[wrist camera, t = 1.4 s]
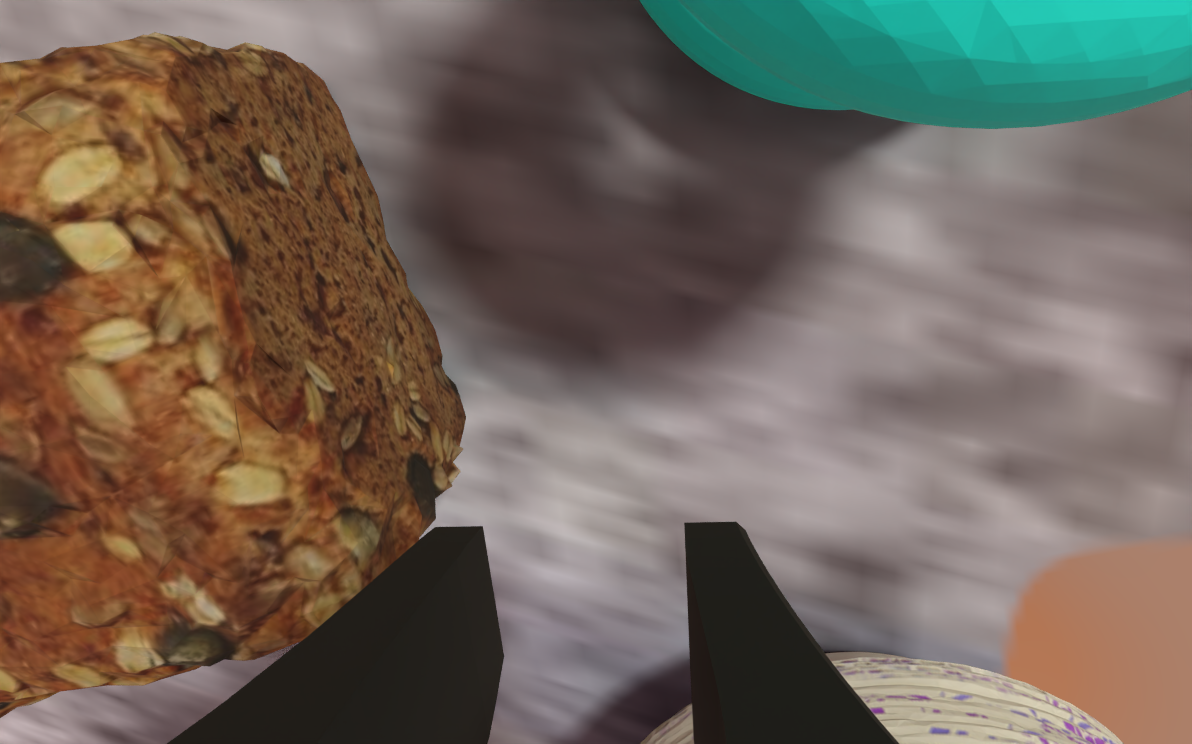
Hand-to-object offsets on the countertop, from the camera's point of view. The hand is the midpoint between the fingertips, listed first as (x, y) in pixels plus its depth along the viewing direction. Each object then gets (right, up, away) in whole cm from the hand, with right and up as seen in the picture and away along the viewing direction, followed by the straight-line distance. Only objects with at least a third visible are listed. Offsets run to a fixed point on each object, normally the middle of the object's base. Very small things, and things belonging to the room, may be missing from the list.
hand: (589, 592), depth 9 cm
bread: (-13, +4, +11) cm, 17 cm away
